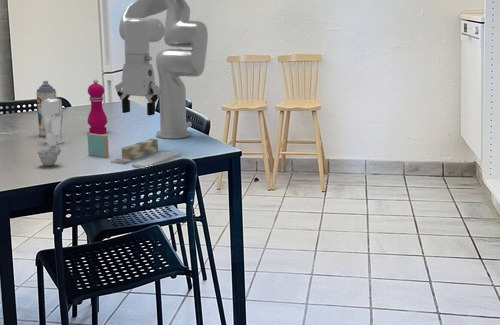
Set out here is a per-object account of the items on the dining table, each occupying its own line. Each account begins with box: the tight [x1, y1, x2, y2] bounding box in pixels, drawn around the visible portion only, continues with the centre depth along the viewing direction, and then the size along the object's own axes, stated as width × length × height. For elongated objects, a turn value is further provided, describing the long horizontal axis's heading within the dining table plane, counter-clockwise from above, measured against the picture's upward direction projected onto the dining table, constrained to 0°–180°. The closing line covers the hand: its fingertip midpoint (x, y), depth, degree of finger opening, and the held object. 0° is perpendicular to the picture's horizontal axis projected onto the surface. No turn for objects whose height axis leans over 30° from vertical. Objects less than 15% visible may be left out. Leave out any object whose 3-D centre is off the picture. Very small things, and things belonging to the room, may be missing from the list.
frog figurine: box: [37, 143, 62, 167], centre depth 199 cm, size 6×7×7 cm
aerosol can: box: [36, 80, 57, 138], centre depth 240 cm, size 7×7×20 cm
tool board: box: [131, 151, 182, 169], centre depth 206 cm, size 19×5×1 cm, turn 153°
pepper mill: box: [87, 79, 108, 135], centre depth 246 cm, size 7×7×20 cm
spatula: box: [110, 138, 159, 165], centre depth 211 cm, size 20×5×4 cm, turn 153°
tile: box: [87, 132, 110, 159], centre depth 212 cm, size 2×7×7 cm, turn 62°
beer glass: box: [42, 98, 64, 145], centre depth 229 cm, size 7×7×15 cm
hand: (138, 113), depth 210 cm, fingers open, 9 cm apart
